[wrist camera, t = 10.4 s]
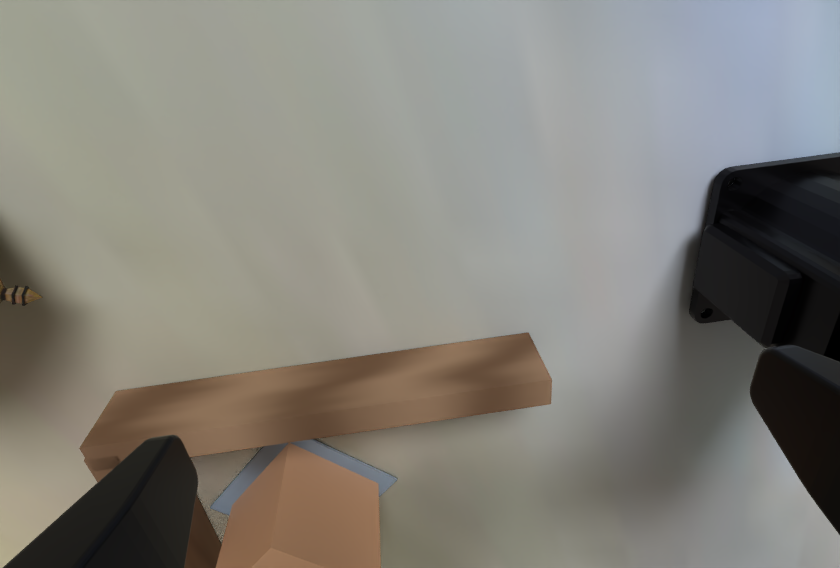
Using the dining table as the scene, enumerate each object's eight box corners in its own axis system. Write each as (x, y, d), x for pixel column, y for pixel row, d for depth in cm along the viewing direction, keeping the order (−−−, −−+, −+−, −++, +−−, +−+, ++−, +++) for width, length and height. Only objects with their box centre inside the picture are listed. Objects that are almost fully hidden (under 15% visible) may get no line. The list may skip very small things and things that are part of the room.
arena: (528, 332, 21) (552, 379, 18) (526, 585, 30) (542, 640, 27) (113, 391, 20) (76, 448, 18) (241, 630, 29) (229, 691, 27)
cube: (289, 442, 22) (270, 547, 18) (378, 483, 24) (381, 587, 20) (232, 505, 24) (202, 615, 20) (320, 538, 26) (311, 646, 22)
